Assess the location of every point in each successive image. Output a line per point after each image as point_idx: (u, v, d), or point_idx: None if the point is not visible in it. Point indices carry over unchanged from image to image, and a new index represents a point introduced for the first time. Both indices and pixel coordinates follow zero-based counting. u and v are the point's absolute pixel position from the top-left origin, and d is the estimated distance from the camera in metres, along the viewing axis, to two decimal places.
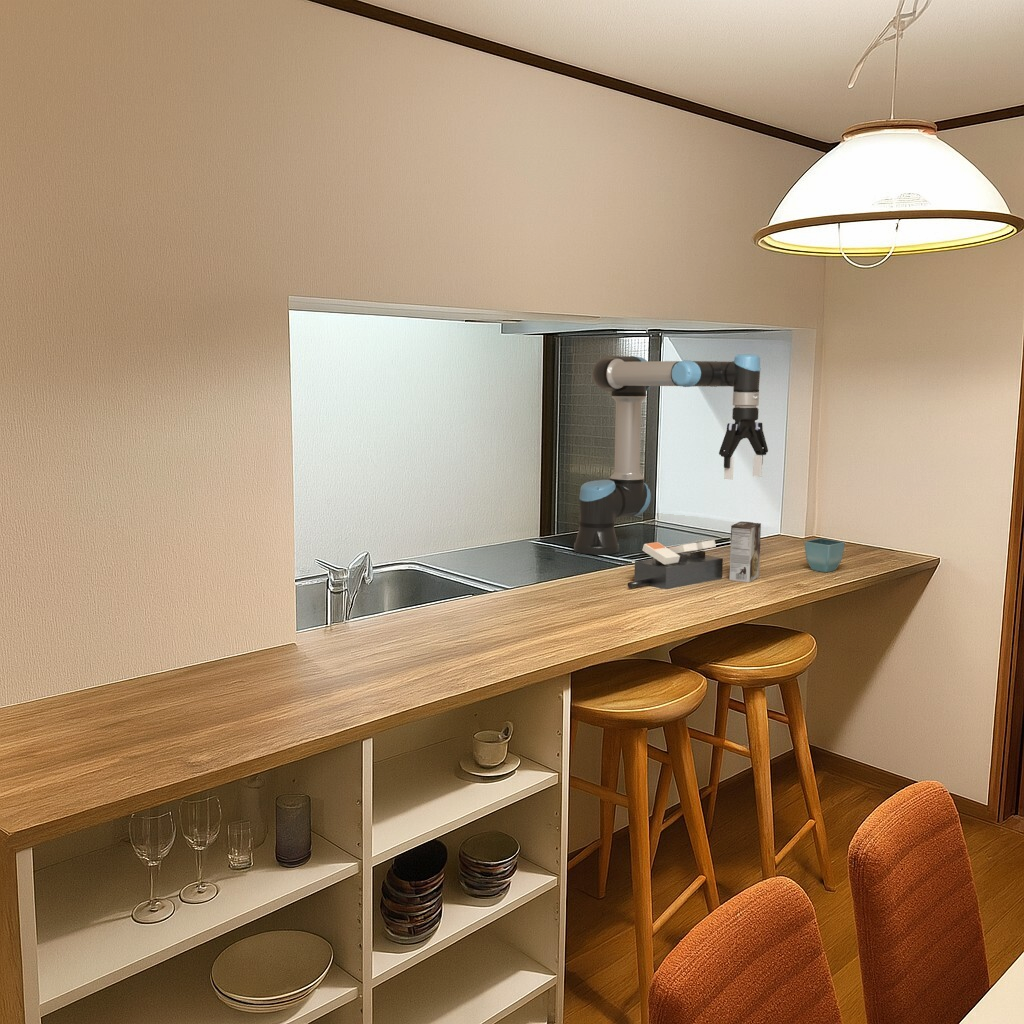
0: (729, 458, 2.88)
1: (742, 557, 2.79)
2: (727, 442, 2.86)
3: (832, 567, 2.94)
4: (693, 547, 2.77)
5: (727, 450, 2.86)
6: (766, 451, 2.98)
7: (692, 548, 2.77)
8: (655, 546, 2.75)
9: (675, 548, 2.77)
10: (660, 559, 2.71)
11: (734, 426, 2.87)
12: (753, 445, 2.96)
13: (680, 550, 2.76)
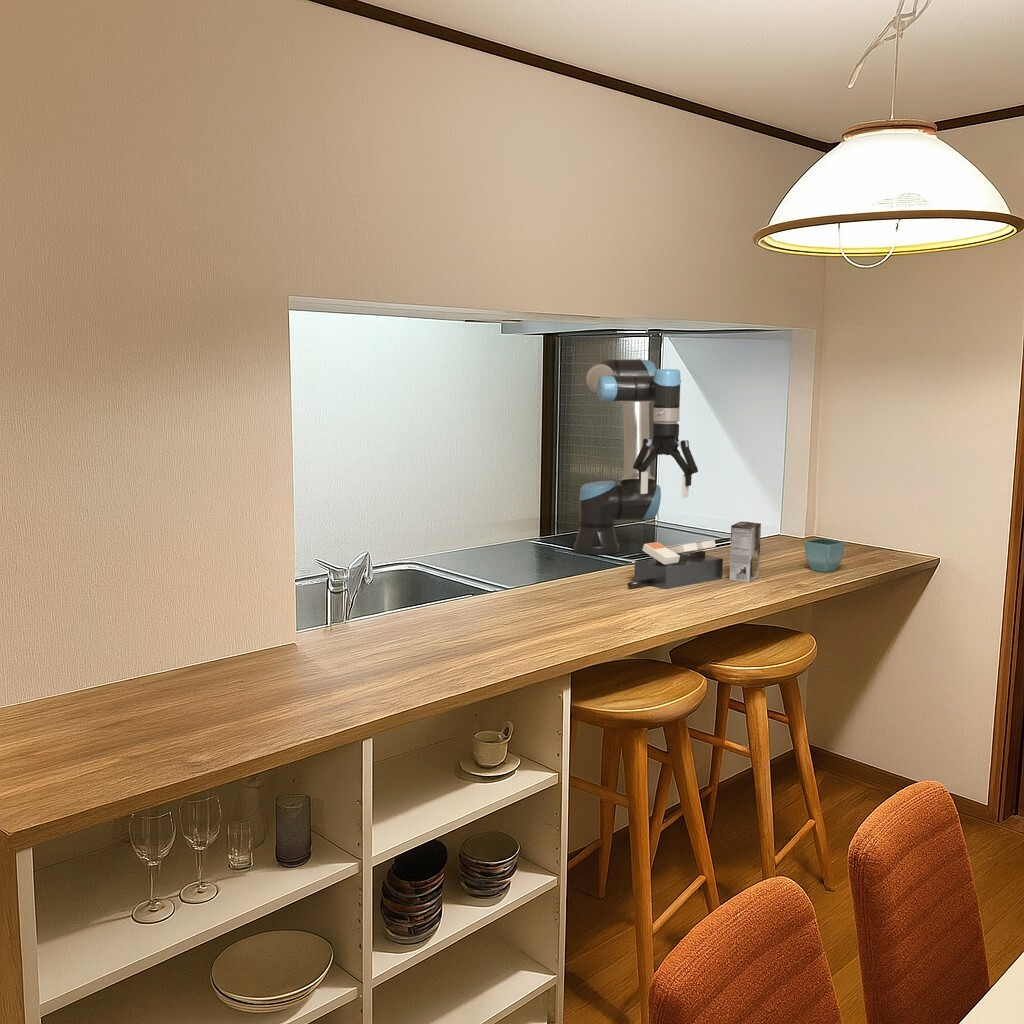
0: (641, 472, 2.89)
1: (742, 557, 2.79)
2: None
3: (832, 567, 2.94)
4: (693, 547, 2.77)
5: (635, 464, 2.89)
6: (691, 472, 2.78)
7: (692, 548, 2.77)
8: (655, 546, 2.75)
9: (675, 548, 2.77)
10: (660, 559, 2.71)
11: (644, 441, 2.87)
12: None
13: (680, 550, 2.76)
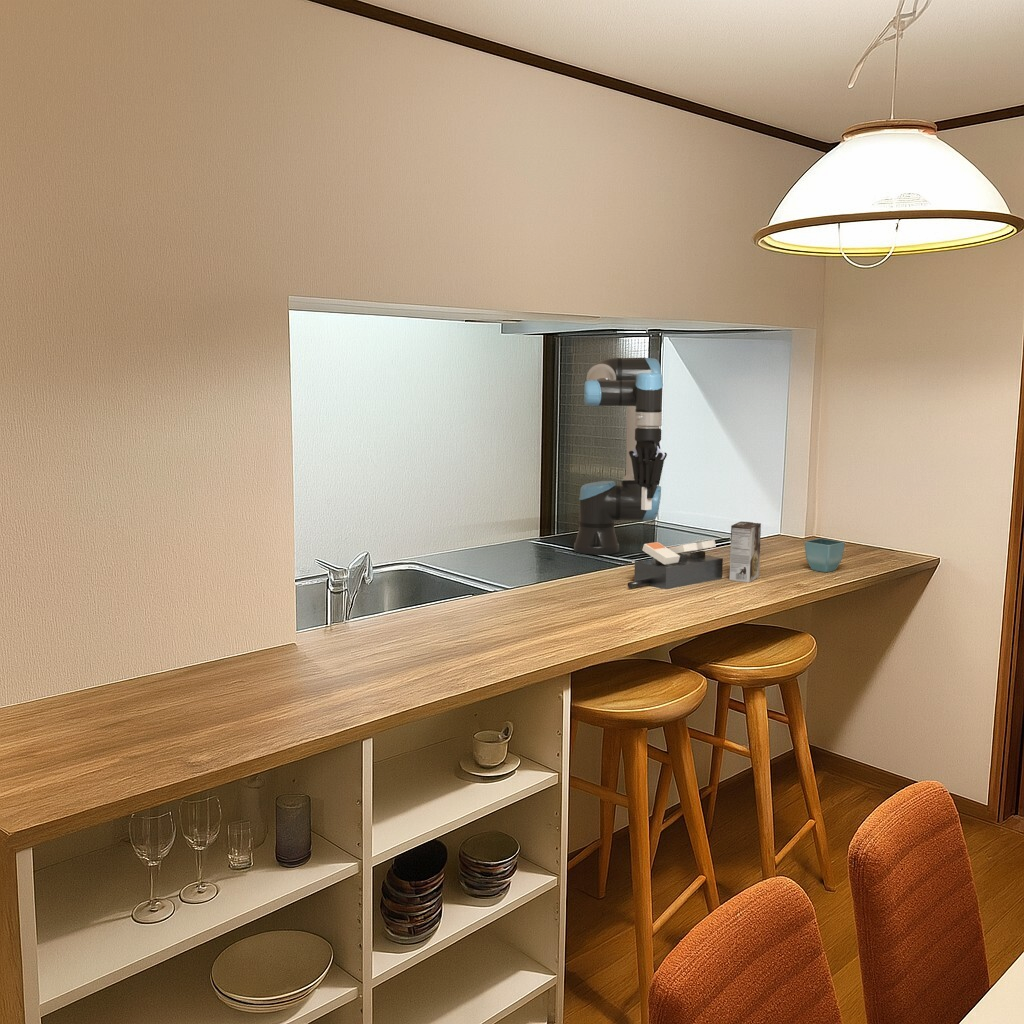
0: (643, 486, 2.81)
1: (742, 557, 2.79)
2: None
3: (832, 567, 2.94)
4: (693, 547, 2.77)
5: (635, 478, 2.82)
6: (651, 483, 2.78)
7: (692, 548, 2.77)
8: (655, 546, 2.75)
9: (675, 548, 2.77)
10: (660, 559, 2.71)
11: (630, 454, 2.83)
12: None
13: (680, 550, 2.76)
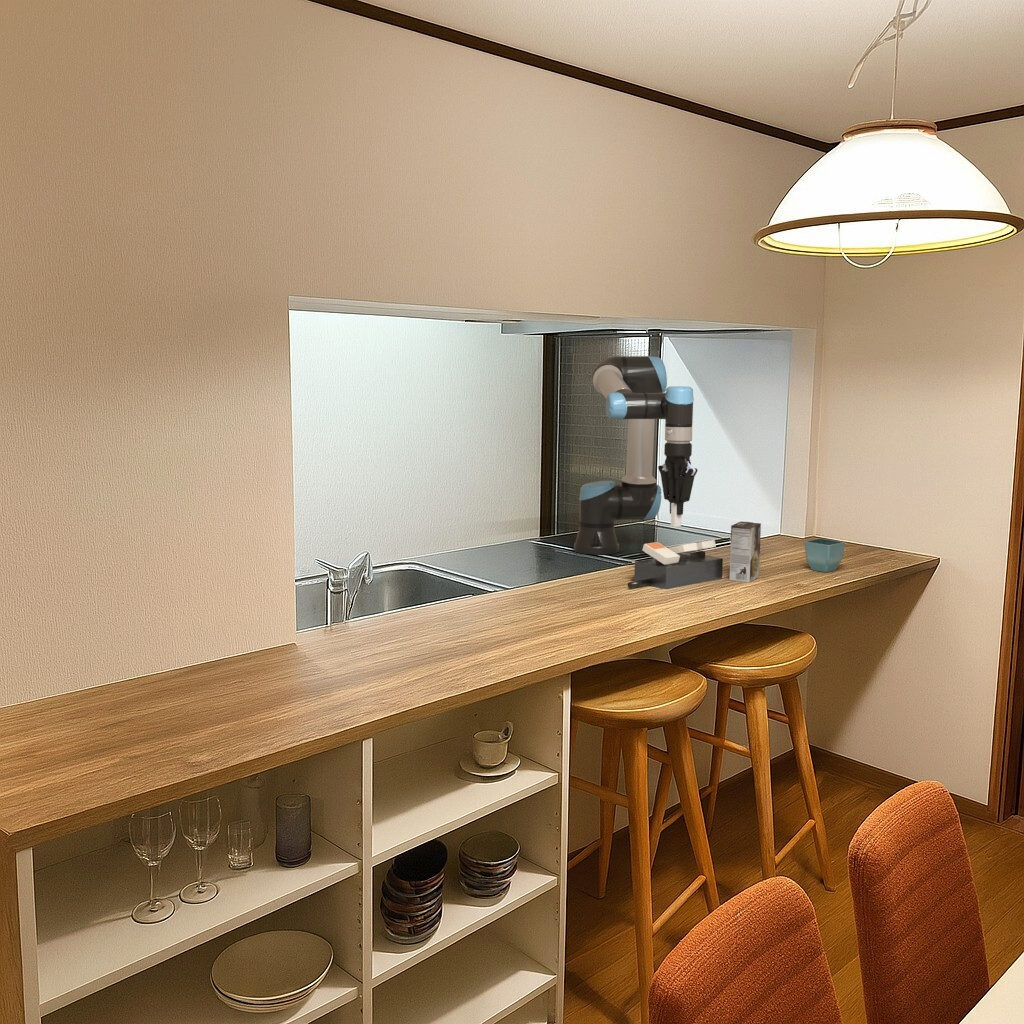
0: (673, 502, 2.74)
1: (742, 557, 2.79)
2: None
3: (832, 567, 2.94)
4: (693, 547, 2.77)
5: (664, 494, 2.76)
6: (680, 499, 2.71)
7: (692, 548, 2.77)
8: (655, 546, 2.75)
9: (675, 548, 2.77)
10: (660, 559, 2.71)
11: (659, 468, 2.77)
12: None
13: (680, 550, 2.76)
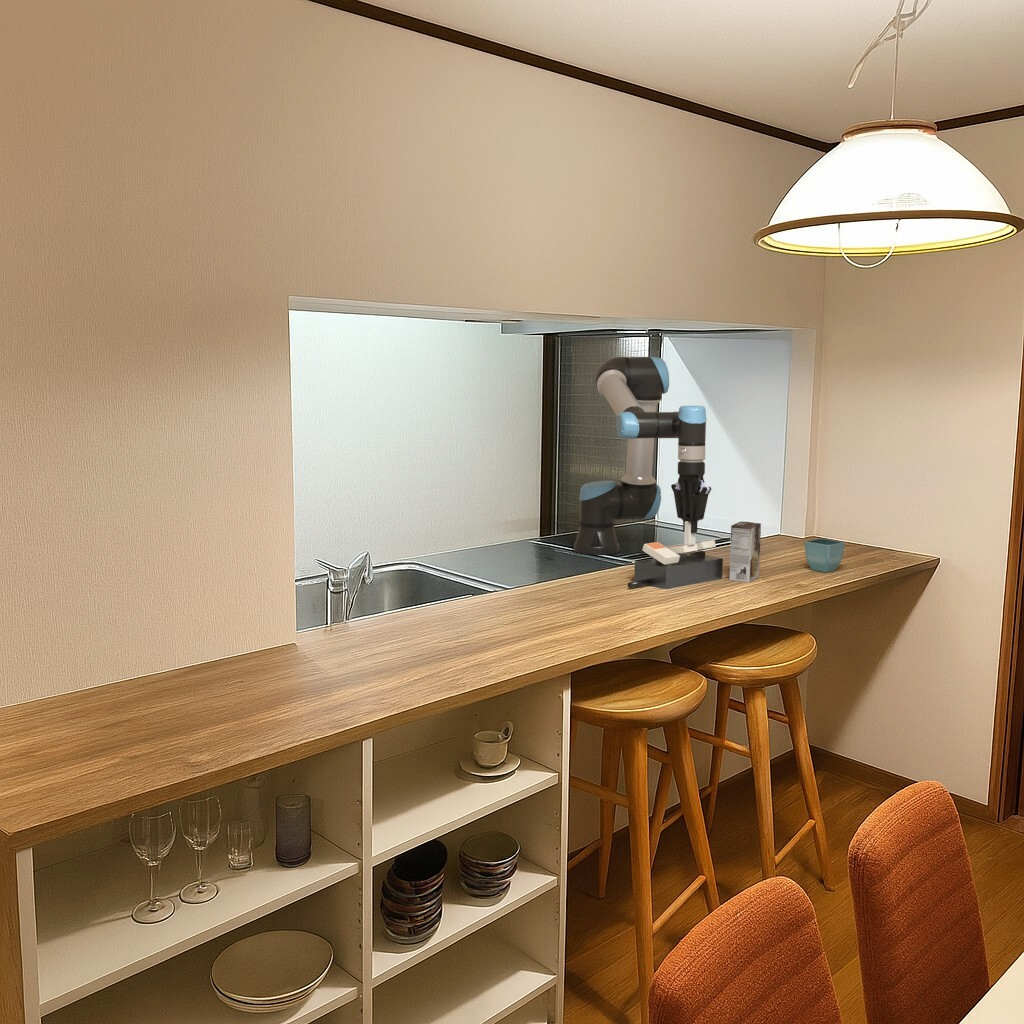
0: (686, 521, 2.76)
1: (742, 557, 2.79)
2: None
3: (832, 567, 2.94)
4: (693, 547, 2.77)
5: (678, 512, 2.77)
6: (695, 518, 2.73)
7: (692, 549, 2.77)
8: (655, 546, 2.75)
9: (675, 548, 2.77)
10: (660, 559, 2.71)
11: (672, 487, 2.78)
12: None
13: (680, 551, 2.76)
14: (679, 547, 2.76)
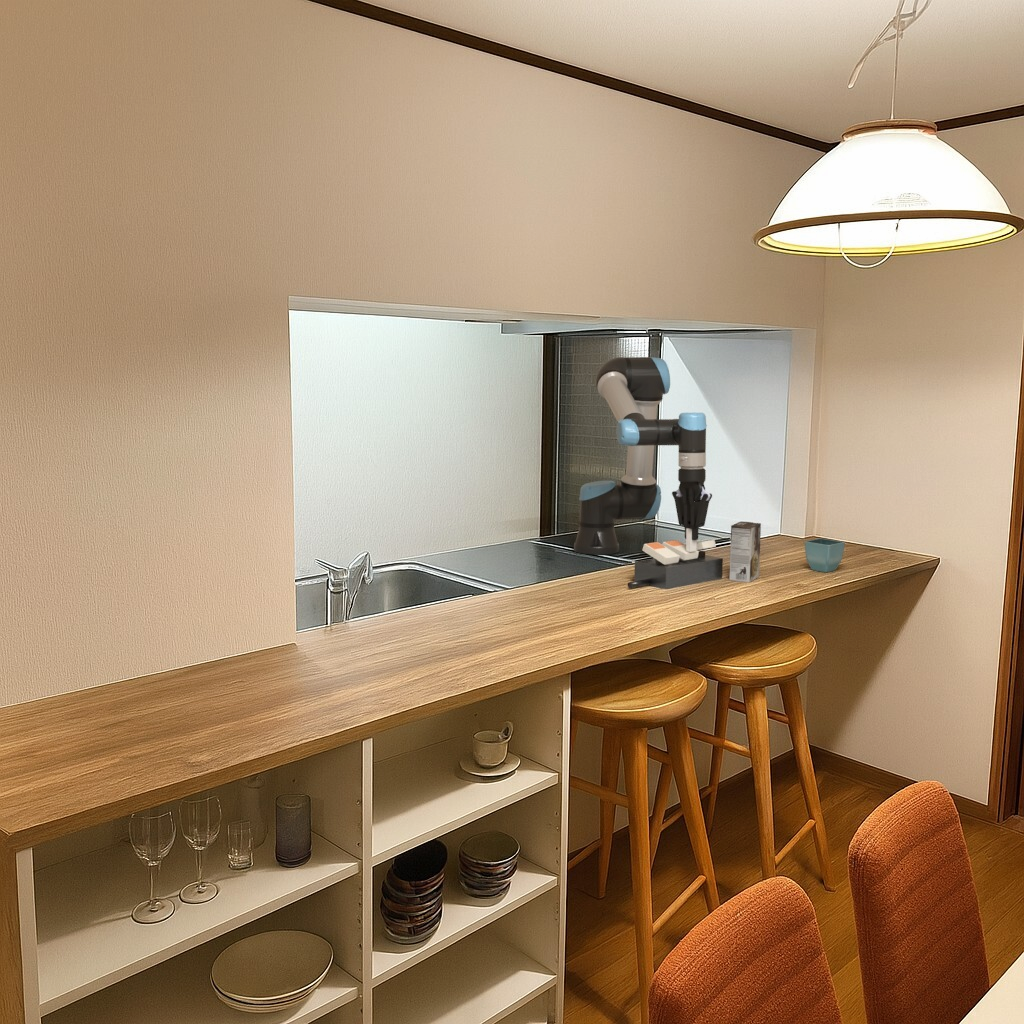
0: (688, 528, 2.75)
1: (742, 557, 2.79)
2: None
3: (832, 567, 2.94)
4: (694, 555, 2.77)
5: (679, 520, 2.77)
6: (696, 525, 2.72)
7: (693, 557, 2.77)
8: (655, 546, 2.75)
9: (677, 551, 2.77)
10: (660, 559, 2.71)
11: (673, 494, 2.78)
12: None
13: (681, 556, 2.76)
14: (681, 552, 2.75)
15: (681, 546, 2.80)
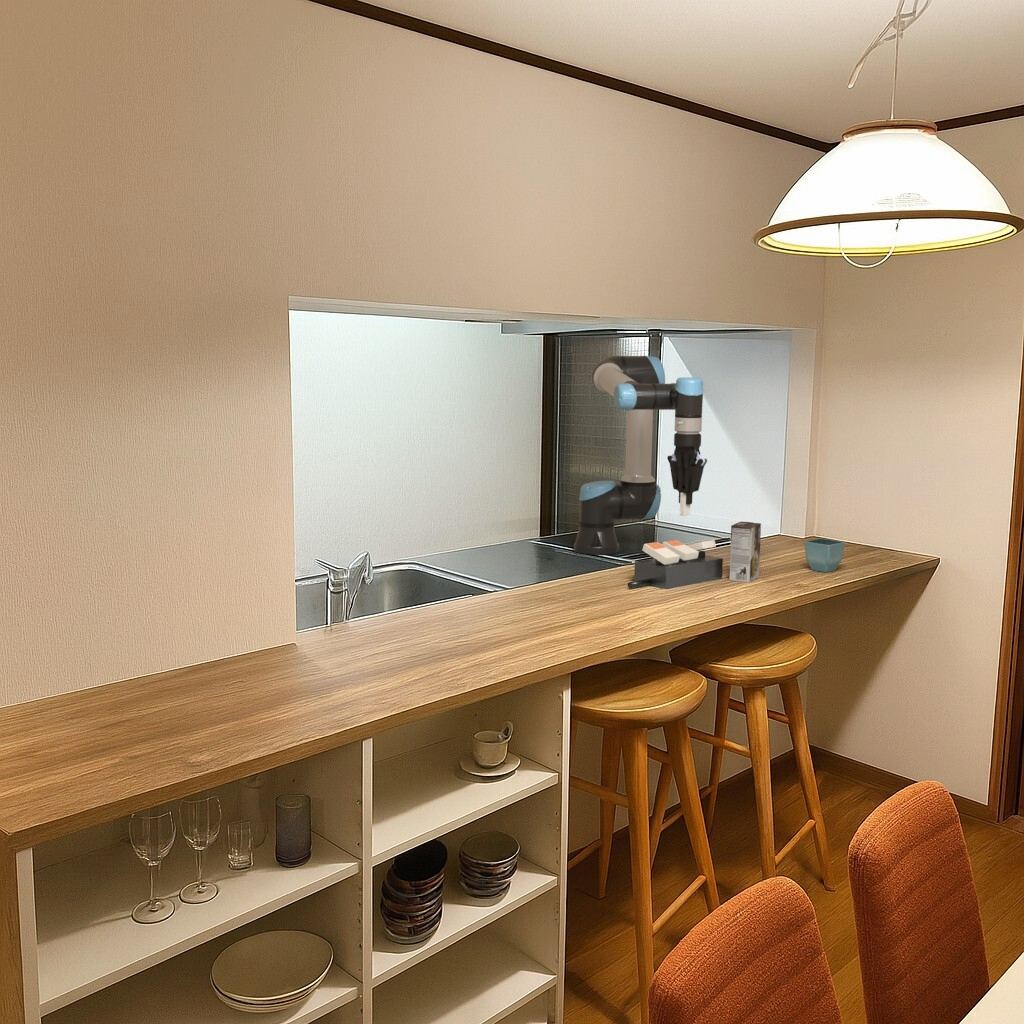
0: (682, 492, 2.78)
1: (742, 557, 2.79)
2: None
3: (832, 567, 2.94)
4: (694, 556, 2.77)
5: (674, 484, 2.79)
6: (690, 489, 2.75)
7: (693, 557, 2.77)
8: (655, 546, 2.75)
9: (677, 551, 2.77)
10: (660, 559, 2.71)
11: (668, 458, 2.80)
12: None
13: (681, 556, 2.76)
14: (681, 553, 2.75)
15: (681, 546, 2.80)
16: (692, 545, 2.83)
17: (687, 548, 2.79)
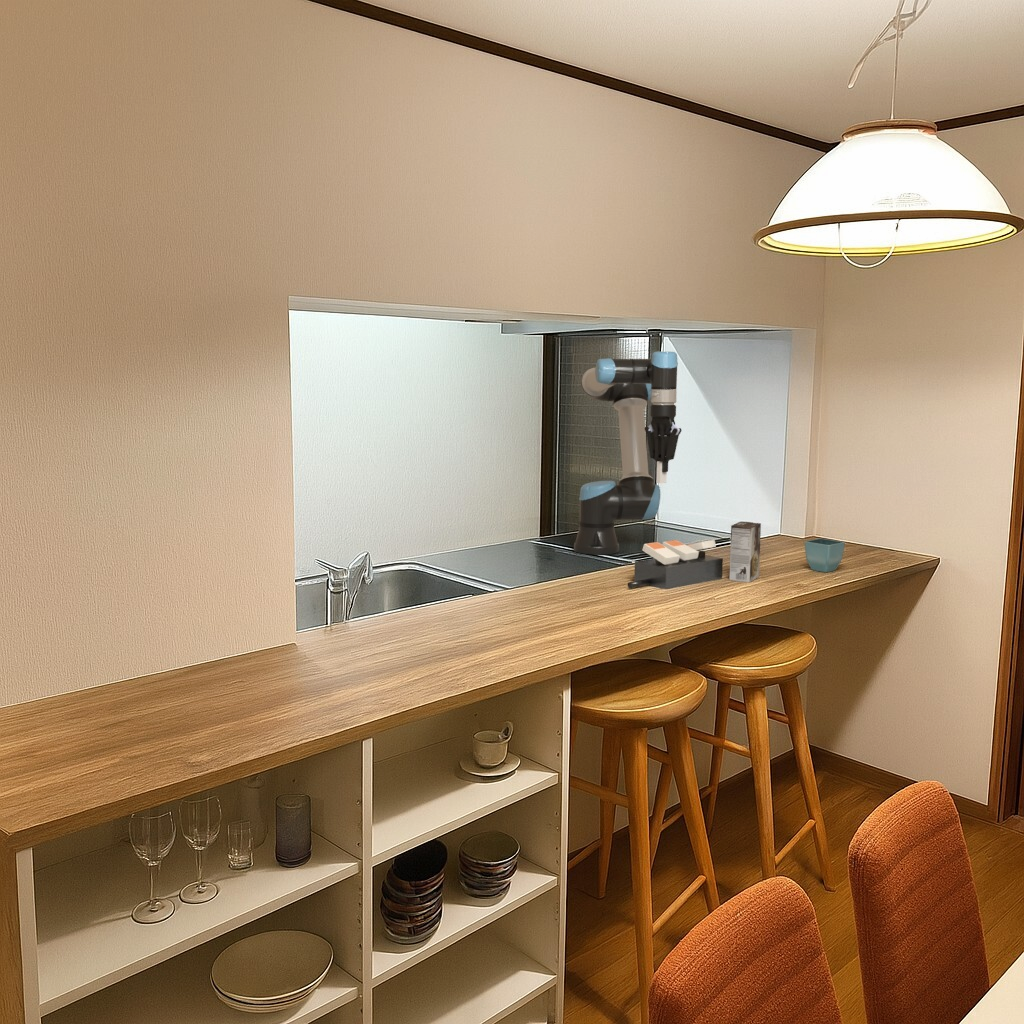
0: (658, 461, 2.93)
1: (742, 557, 2.79)
2: None
3: (832, 567, 2.94)
4: (694, 556, 2.77)
5: (650, 453, 2.95)
6: (666, 457, 2.90)
7: (693, 557, 2.77)
8: (655, 546, 2.75)
9: (677, 551, 2.77)
10: (660, 559, 2.71)
11: (645, 429, 2.95)
12: None
13: (681, 556, 2.76)
14: (681, 553, 2.75)
15: (681, 546, 2.80)
16: (692, 545, 2.83)
17: (687, 548, 2.79)
